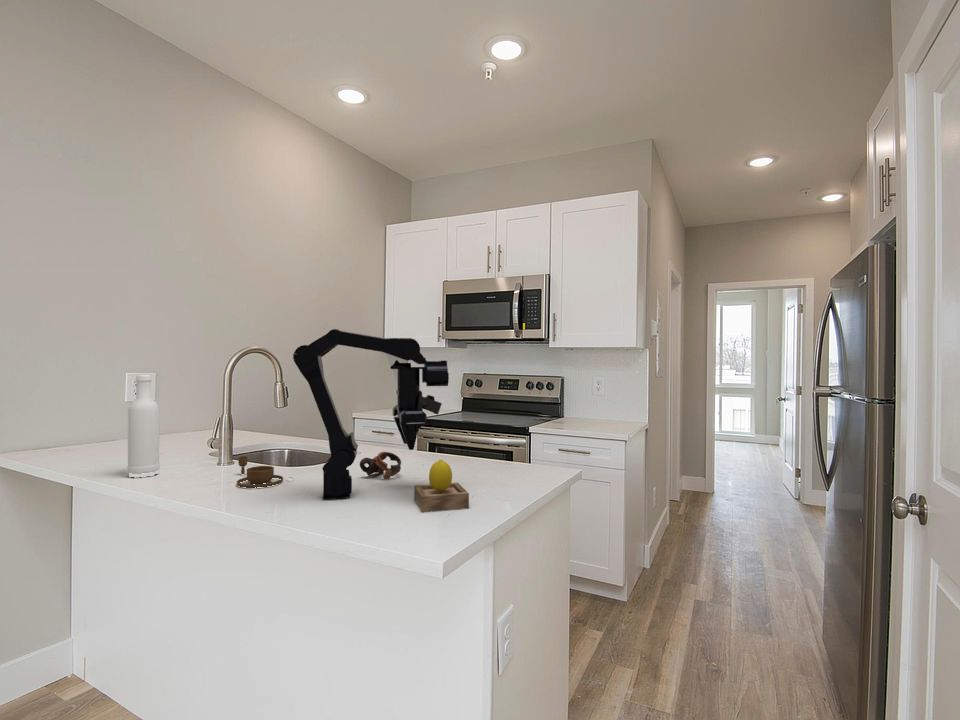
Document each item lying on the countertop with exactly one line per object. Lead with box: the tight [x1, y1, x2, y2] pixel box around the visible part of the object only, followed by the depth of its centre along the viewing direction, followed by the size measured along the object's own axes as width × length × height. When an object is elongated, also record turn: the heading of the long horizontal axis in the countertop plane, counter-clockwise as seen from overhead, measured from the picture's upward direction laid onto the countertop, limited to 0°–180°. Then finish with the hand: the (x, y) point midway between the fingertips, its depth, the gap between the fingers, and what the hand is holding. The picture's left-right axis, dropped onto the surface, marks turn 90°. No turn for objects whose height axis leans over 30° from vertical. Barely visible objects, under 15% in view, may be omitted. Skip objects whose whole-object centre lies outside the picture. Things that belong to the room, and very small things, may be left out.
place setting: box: [236, 455, 293, 489], centre depth 144 cm, size 18×20×6 cm
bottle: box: [126, 374, 161, 474], centre depth 150 cm, size 8×8×30 cm
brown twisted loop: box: [359, 451, 402, 480], centre depth 148 cm, size 12×10×8 cm
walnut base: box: [413, 481, 470, 513], centre depth 121 cm, size 11×11×4 cm
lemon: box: [428, 459, 453, 493], centre depth 121 cm, size 6×6×8 cm
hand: (408, 446), depth 131 cm, fingers open, 9 cm apart
